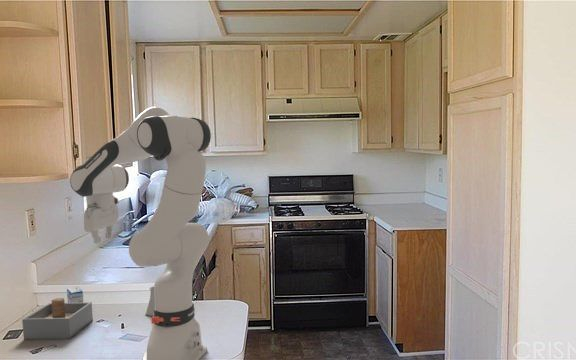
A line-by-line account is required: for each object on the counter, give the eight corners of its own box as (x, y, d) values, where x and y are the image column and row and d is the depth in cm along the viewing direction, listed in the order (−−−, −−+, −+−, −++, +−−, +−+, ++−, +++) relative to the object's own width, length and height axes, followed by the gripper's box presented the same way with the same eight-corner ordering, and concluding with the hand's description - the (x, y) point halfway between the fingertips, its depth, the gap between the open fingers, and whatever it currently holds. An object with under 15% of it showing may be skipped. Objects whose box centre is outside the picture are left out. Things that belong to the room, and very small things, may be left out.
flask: (167, 309, 177) (166, 284, 177) (160, 316, 170) (159, 290, 170) (149, 309, 178) (148, 284, 177) (142, 316, 171) (140, 290, 170)
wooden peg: (62, 329, 158) (60, 301, 158) (51, 329, 158) (49, 301, 158) (68, 325, 162) (66, 297, 162) (57, 325, 162) (55, 298, 162)
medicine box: (67, 309, 181) (66, 288, 181) (79, 307, 184) (78, 286, 183) (72, 315, 175) (70, 293, 174) (84, 312, 178) (83, 290, 177)
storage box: (70, 339, 152) (69, 318, 152) (23, 339, 153) (22, 319, 152) (92, 320, 168) (91, 302, 168) (50, 321, 169) (49, 303, 168)
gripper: (95, 204, 152) (99, 245, 152) (120, 198, 172) (122, 235, 173) (77, 205, 152) (80, 246, 153) (103, 199, 172) (106, 235, 173)
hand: (103, 240), depth 163 cm, fingers open, 8 cm apart
